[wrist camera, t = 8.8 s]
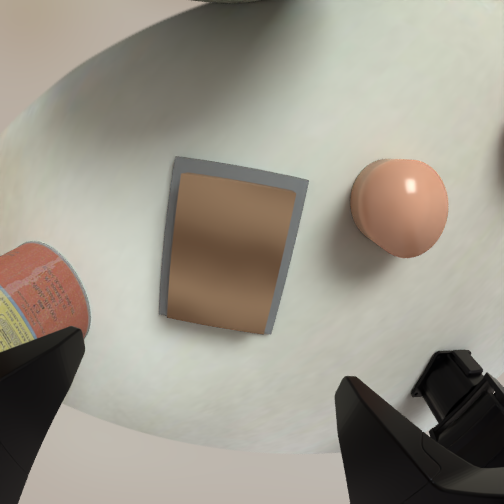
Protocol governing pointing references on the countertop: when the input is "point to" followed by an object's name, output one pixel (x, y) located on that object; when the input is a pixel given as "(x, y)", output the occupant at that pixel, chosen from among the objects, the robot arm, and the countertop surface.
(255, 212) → the cover
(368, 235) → the peach rounded knob
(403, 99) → the countertop surface
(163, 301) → the mat
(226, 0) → the bowl
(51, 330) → the canned food
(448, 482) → the robot arm
